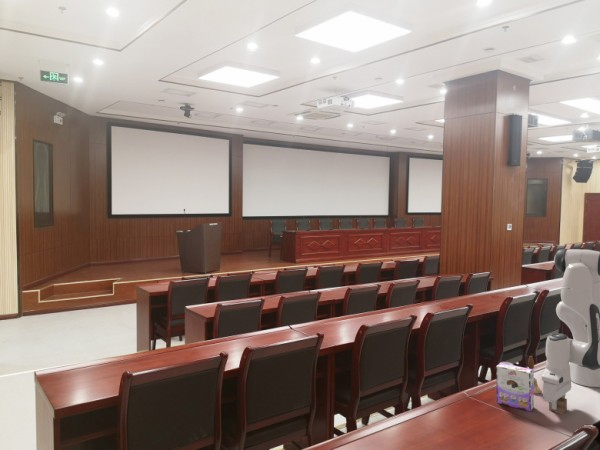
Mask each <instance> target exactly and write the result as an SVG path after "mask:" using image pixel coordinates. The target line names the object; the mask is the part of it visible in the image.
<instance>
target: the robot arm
mask: <svg viewBox="0 0 600 450" xmlns="http://www.w3.org/2000/svg"><path fill="white" fill-rule="evenodd" d="M553 262H554V266H555V269H556V270H558V271H559V272H561V275H562V274H563V276H562V281H561V287H560V288H561V289H560V298H561V301H559V302H558V303H557V304H556V308H555V312H556V315H557V317H558V318H559V320H560V321H561V322H563V323H564V324H565V325H566V326H567V327H568V328H569V330H570V332H571V334H572V337H573V339H572V338H569V336H568V335H567V334H564V333H563V332H561V333H560V332H553V333H550V334H549V335H547V338H546V342H545V357H546V361H545V368H544V372H543V373H542V375H541V381H543V382H542V393H543V395H542V396H543V399H544V401H545V402H548V403H549V402H551V404H552V409H555V410H556V409H557V408H558V405H557V400H558V399H559V398H560V397H562V398H566V395H567V393H568V392H570V391H571V390H572V382H573V383H575V384H577V385H581V386H584V387H589V388H600V251H598V250H592V249H585V248H584V249H575V248H574V249H573V248H572V249H571V248H570V249H569V248H561V249H558V250H557V251H556V253H555V254H554V258H553Z"/></svg>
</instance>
